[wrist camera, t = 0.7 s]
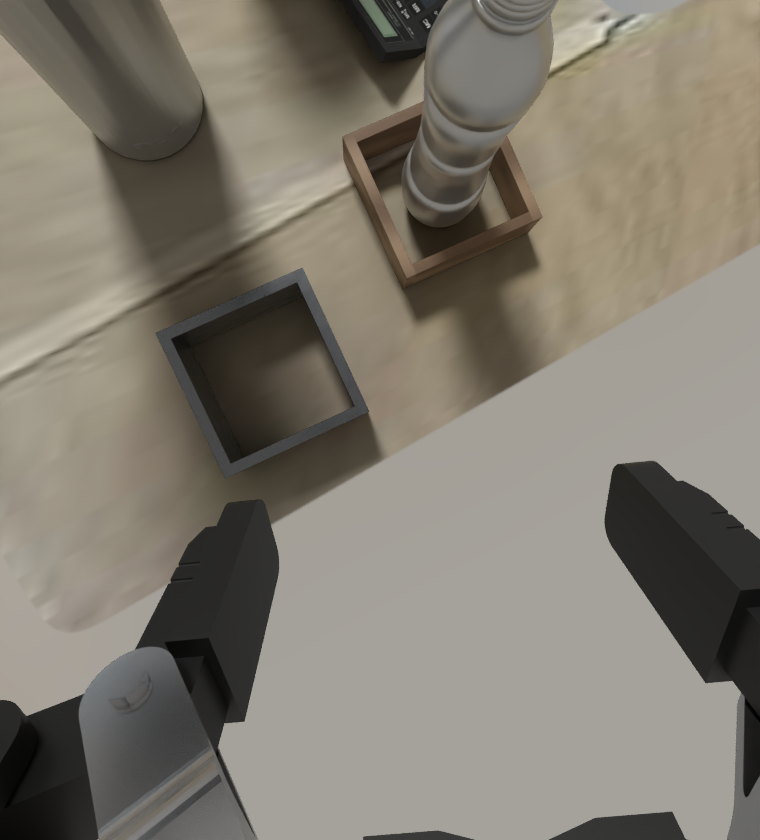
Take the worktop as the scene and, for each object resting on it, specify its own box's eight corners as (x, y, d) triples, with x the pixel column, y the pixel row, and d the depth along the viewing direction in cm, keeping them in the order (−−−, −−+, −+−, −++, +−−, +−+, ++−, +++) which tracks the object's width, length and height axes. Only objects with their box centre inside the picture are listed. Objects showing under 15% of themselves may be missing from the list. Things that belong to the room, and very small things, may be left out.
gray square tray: (177, 341, 36) (155, 333, 32) (308, 283, 37) (302, 267, 33) (239, 471, 37) (225, 478, 33) (367, 411, 37) (369, 411, 33)
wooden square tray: (343, 159, 36) (342, 136, 34) (470, 103, 37) (480, 76, 34) (402, 289, 37) (406, 278, 34) (527, 232, 37) (542, 216, 34)
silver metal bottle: (487, 174, 37) (639, -101, 17) (456, 249, 37) (572, 61, 17) (416, 142, 37) (487, -177, 17) (385, 218, 37) (418, -12, 17)
